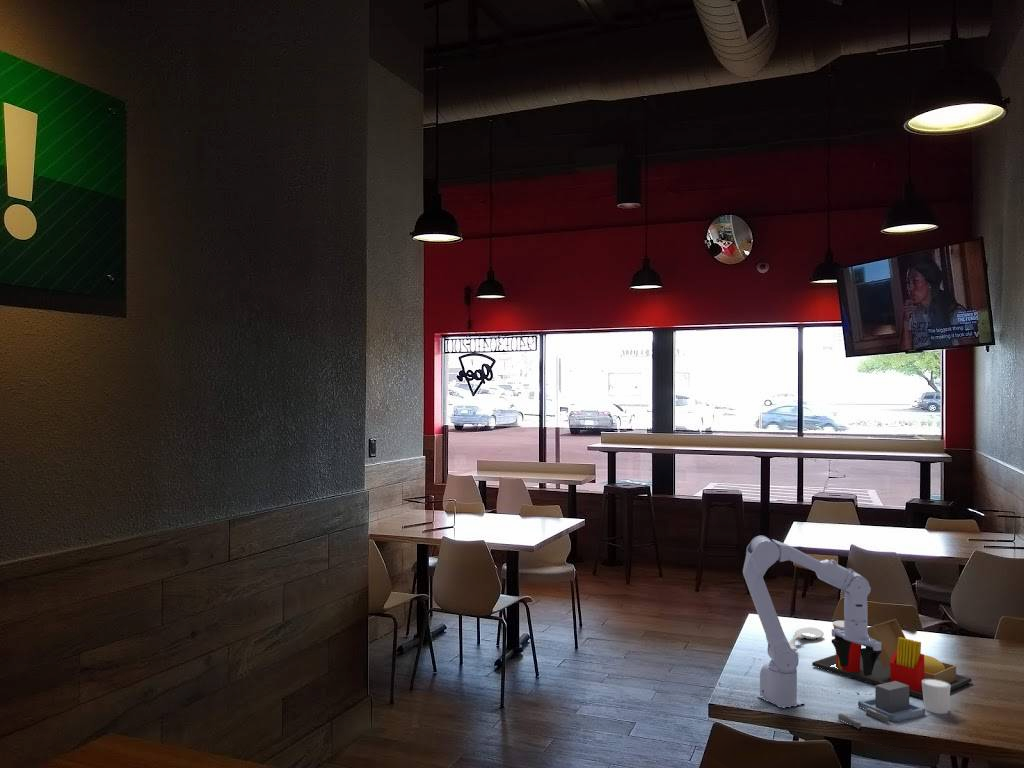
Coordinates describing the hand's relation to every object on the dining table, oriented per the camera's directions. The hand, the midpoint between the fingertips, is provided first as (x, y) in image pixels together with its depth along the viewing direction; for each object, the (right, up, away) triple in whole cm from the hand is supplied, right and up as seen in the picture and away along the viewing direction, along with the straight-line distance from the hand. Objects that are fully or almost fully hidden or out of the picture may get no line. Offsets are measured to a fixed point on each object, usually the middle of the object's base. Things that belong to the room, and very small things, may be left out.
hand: (855, 670), depth 208 cm
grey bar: (+8, -9, -3) cm, 13 cm away
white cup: (+20, -10, -2) cm, 23 cm away
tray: (+8, -9, -3) cm, 13 cm away
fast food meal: (+21, -11, +25) cm, 34 cm away
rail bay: (-3, -9, -10) cm, 14 cm away
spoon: (+5, -12, +55) cm, 57 cm away
